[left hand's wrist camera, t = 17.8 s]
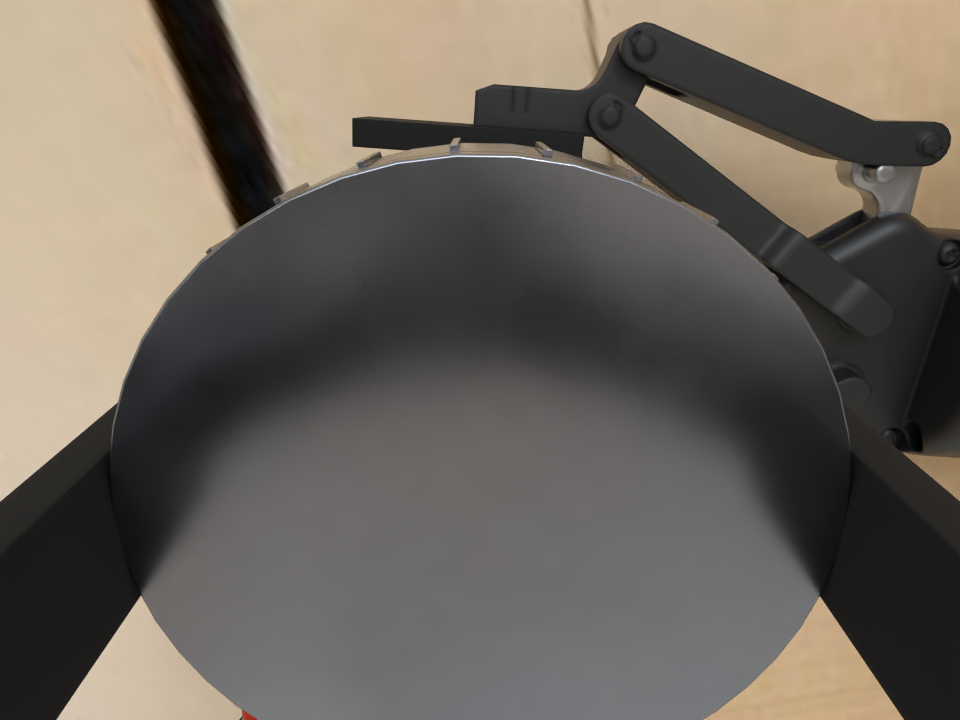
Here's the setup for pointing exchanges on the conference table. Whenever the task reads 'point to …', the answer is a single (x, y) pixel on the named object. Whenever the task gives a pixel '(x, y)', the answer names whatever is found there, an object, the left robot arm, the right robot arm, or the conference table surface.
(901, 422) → the right robot arm
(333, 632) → the lid
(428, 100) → the conference table surface
